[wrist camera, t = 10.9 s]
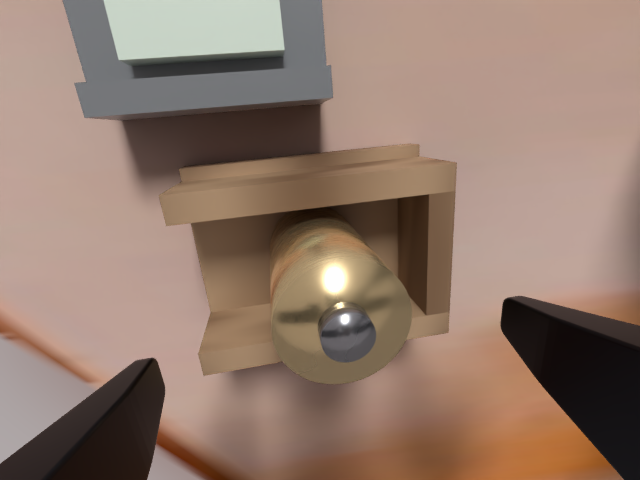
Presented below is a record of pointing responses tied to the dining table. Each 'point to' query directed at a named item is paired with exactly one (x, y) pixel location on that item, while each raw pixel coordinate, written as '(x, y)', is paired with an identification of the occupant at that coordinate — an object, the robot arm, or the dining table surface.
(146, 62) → the checker pad
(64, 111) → the dining table surface
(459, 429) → the dining table surface
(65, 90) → the dining table surface
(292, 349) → the cell bronze
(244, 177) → the wooden open box
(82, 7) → the base
